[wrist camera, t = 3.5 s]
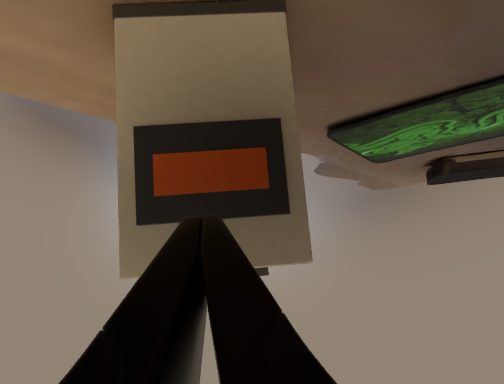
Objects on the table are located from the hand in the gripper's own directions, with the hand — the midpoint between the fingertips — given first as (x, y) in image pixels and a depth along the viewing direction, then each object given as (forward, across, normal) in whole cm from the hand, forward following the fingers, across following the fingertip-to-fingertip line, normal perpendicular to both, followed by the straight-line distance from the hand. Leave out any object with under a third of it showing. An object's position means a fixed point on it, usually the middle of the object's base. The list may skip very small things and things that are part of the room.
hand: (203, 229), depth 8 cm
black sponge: (+45, -46, +27) cm, 70 cm away
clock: (+16, 0, -1) cm, 16 cm away
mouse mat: (+29, -29, +12) cm, 43 cm away
